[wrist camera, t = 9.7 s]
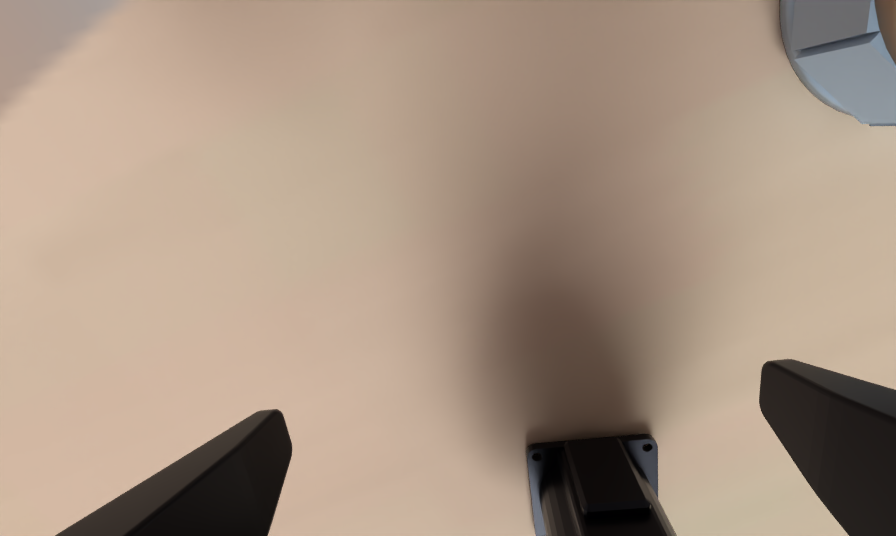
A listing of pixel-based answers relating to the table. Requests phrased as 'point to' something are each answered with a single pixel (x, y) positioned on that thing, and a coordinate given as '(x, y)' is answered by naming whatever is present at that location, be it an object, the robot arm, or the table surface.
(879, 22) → the lid
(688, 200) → the table surface
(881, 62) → the bowl
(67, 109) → the table surface
